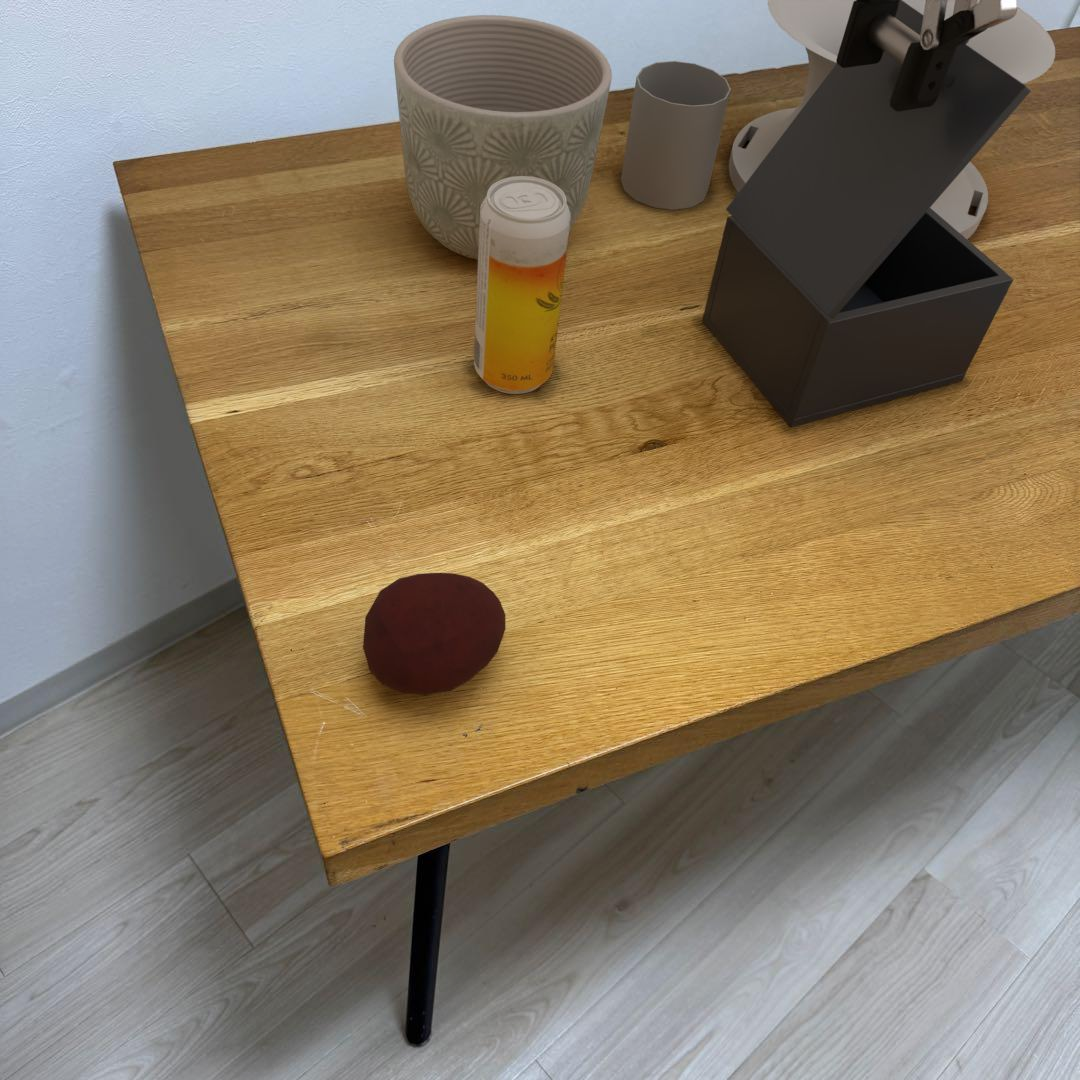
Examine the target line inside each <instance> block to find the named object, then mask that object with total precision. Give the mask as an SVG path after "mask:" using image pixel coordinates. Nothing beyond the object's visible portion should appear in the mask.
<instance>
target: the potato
mask: <svg viewBox="0 0 1080 1080" xmlns="http://www.w3.org/2000/svg"><path fill="white" fill-rule="evenodd" d="M363 629H364V630H363V641H362V649H363V653H364V656H365V660H366V663H367V667H368V669H369V672H370V674H372V676H373V677H374V678H375V679H377V681H378V682H379V684H381V685H382V686H384V687H386V688H389V689H391V690H393V691H395V692H398V693H400V694H407V695H408V694H409V695H416V696H417V695H418V696H431V695H435V694H441V693H447V692H451V691H453V690H455V689H457V688H459V687H461V686H462V685H463V684H466V683H468V682H469V681H471V680H472V679H473V678H474V677H475V676H476V675H478V674H479V673H480V672H481V671H482V670H484V669H485V668H486V667H487V666H488V665H489V664H490V662H491V661H492V660H493V659H494V657H496V655H497V654H498V651H499V650H500V646H501V644H502V640H503V637H504V635H505V631H506V613H505V610H504V607H503V605H502V602H501V600H500V598H499V597H498V596H497V595H496V593H495V592H494V591H493V590H491V589H490V588H489V587H488V586H487V585H486V584H485V583H484V582H482V581H479V579H478V580H477V579H476V578H473V577H471V576H468V575H463V574H460V573H459V574H458V573H452V572H425V573H416V574H412V575H407V576H403V577H399V578H397V579H396V580H394V581H393V582H391V583H390V584H388V585H386V586H385V587H384V588H382V589H381V590H379V592H378V594H377V595H376V598H375V599H374V601H373V603H372V604H371V606H370V608H369V610H368V612H367V613H366V615H365V618H364V628H363Z"/></svg>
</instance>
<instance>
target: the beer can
mask: <svg viewBox="0 0 1080 1080" xmlns="http://www.w3.org/2000/svg"><path fill="white" fill-rule="evenodd" d="M570 220H571V214H570V210H569V208H568V205H567V203H566V196H565V194H564V192H563V191H562V190H561V189H560V188H559V187H557V186H556V185H554V184H553V183H551V182H549V181H546V180H543V179H540V178H535V177H528V176H516V177H509V178H505V179H502V180H499V181H497V182H496V183H494V184H493V185H492V186H491V187H490V188H489V190H488V192H487V196H486V198H485V199H484V201H483V203H482V204H481V207H480V225H479V250H478V260H477V277H476V279H477V282H476V301H475V302H476V303H475V325H474V326H475V328H474V329H475V330H474V354H473V356H474V357H473V366H474V369H475V371H476V373H477V375H478V377H480V378H481V379H482V381H484V382H485V384H486V385H487V386H488V387H490V388H491V389H493V390H495V391H498V392H500V393H504V394H510V395H521V394H528V393H530V392H533V391H535V390H536V389H538V388H539V387H541V386H542V385H543V384H545V383H546V382H547V381H548V380H549V379H550V378H551V376H552V375H553V371H554V368H555V367H554V366H555V357H556V349H557V341H558V333H559V332H558V331H559V323H560V316H561V315H560V314H561V306H562V296H563V289H564V279H565V271H566V264H567V263H566V262H567V256H568V255H567V253H568V246H569V236H570V232H569V229H570Z"/></svg>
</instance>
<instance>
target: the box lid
mask: <svg viewBox="0 0 1080 1080" xmlns="http://www.w3.org/2000/svg"><path fill="white" fill-rule="evenodd" d="M922 22H923V14H921V13H920V12H918V11H917V10H915V9H914V8H912V7H911V6H910V5H908V4H907V3H905V2H904V1H902V0H900V1H899V4H898V10H897V13H896V16H895V17H893V16H892V15H890V14H889V13H883V14H880V15H879V16H877V17H876V18H875V19H874V20H873V22H872V23H871V25H870V27H869V30H868V37H869V40H870V41H872V42H873V43H874V44H876V45H877V46H878V47H880V48H881V49H882V50H884V52H883V55H882V58H881V60H880V61H879V62H878V63H876V64H870V65H862V66H855V67H847V68H842V67H841V66H839V65H838V64H837V63H836V65H835V66H834V67H833V69H832V70H831V71H830V73H829V74H828V75H827V77H826V78H825V79H824V81H823V82H822V83H821V84H820V86H819V87H818V88H817V90H816V91H815V92H814V94H813V95H812V96H811V98H810V99H809V100H808V102H807V103H806V104H805V106H804V107H803V108H802V110H801V111H800V112H799V114H798V115H797V116H796V117H795V119H794V120H793V121H792V123H791V124H790V125H789V127H788V128H787V129H786V131H785V132H784V133H783V135H782V136H781V137H780V139H779V140H778V141H777V143H776V144H775V145H774V147H773V148H772V149H771V151H770V152H769V153H768V154H767V156H766V157H765V158H764V160H763V161H762V162H761V164H760V165H759V166H758V168H757V169H756V170H755V172H754V173H753V174H752V176H751V177H750V178H749V180H748V181H747V182H746V184H745V185H744V186H743V187H742V189H741V190H740V191H739V193H738V192H737V194H736V195H735V197H734V198H733V199H732V201H730V203H729V205H728V206H727V207H726V211H727V212H728V213H729V215H730V216H733V218H734V219H735V220H736V221H737V222H738V223H739V224H740V225H741V226H742V227H743V228H744V229H745V230H746V231H747V232H748V233H749V234H750V235H751V236H752V237H753V239H754V240H755V241H756V242H757V243H758V244H759V245H760V246H761V247H762V248H763V249H764V250H765V251H766V252H767V253H768V254H769V255H770V256H771V257H772V258H773V260H774V261H775V262H776V263H777V264H778V265H779V266H780V267H781V268H782V269H783V270H784V271H785V272H786V273H787V274H788V275H789V276H790V277H791V278H792V279H793V281H794V282H795V283H796V284H797V285H798V286H799V287H800V288H801V289H802V290H803V291H804V292H805V293H806V294H807V295H808V296H809V297H810V298H811V299H812V300H813V302H814V303H815V304H816V305H817V306H818V307H819V308H820V309H821V310H822V311H823V312H824V313H825V314H826V315H827V316H828V317H830V318H835V316H836V315H837V314H838V313H839V312H840V311H841V309H842V308H843V307H844V306H845V305H846V304H847V303H848V301H849V300H850V299H851V298H852V297H853V296H854V295H855V293H856V292H857V291H858V290H859V289H860V288H861V286H862V285H863V284H864V283H865V282H866V281H867V280H868V278H869V277H870V276H871V275H872V274H873V273H874V271H875V270H876V269H877V268H878V267H879V266H880V265H881V263H882V262H883V261H884V260H885V259H886V258H887V257H888V255H889V254H890V253H891V252H892V251H893V250H894V248H895V247H896V246H897V245H898V244H899V243H900V242H901V240H902V239H903V238H904V237H905V236H906V235H907V233H908V232H909V231H910V230H911V229H912V228H913V227H914V225H915V224H916V223H917V222H918V221H919V220H920V219H921V217H922V216H923V215H924V214H925V213H926V212H927V210H928V209H929V208H930V207H931V206H932V205H933V204H934V202H935V201H936V200H937V199H938V198H939V197H940V195H941V194H942V193H943V192H944V191H945V190H946V189H947V187H948V186H949V185H950V184H951V183H952V182H953V181H954V179H955V178H956V177H957V176H958V175H959V174H960V172H961V171H962V170H963V169H964V168H965V167H966V166H967V164H968V163H969V162H971V161H972V160H973V159H974V157H976V156H977V154H978V153H979V152H980V151H981V149H982V148H983V147H984V146H985V145H986V144H987V143H988V142H989V141H990V139H991V138H992V137H993V136H994V135H995V133H996V132H997V131H998V130H999V129H1000V128H1001V127H1002V126H1003V124H1004V123H1005V122H1006V121H1007V119H1009V118H1010V116H1011V115H1012V114H1013V113H1014V112H1015V111H1016V110H1017V109H1018V107H1019V106H1020V105H1021V104H1022V102H1023V101H1024V100H1025V99H1026V98H1027V97H1028V96H1029V94H1030V93H1031V91H1032V90H1031V89H1030V88H1029V87H1028V86H1027V85H1026V84H1025V83H1021V82H1020V81H1018V80H1017V79H1015V78H1014V77H1013V76H1011V75H1010V74H1008V73H1007V72H1005V71H1004V70H1002V69H1001V68H1000V67H998V66H997V65H995V64H994V63H992V62H991V61H989V60H988V59H986V58H985V57H984V56H982V55H981V54H979V53H978V52H976V51H975V50H973V49H972V48H970V47H969V46H968V45H966V44H965V45H962V46H957V47H956V50H955V53H954V55H953V58H952V60H951V63H950V66H949V68H948V71H947V74H946V76H945V79H944V81H943V84H942V87H941V89H940V92H939V95H938V97H937V100H936V102H935V103H934V104H933V105H932V106H930V107H924V108H918V109H911V110H905V111H898V112H897V111H895V110H894V109H893V108H891V107H890V99H891V96H892V93H893V90H894V87H895V85H896V82H897V79H898V76H899V73H900V70H901V67H902V64H903V61H904V59H905V56H906V53H907V50H908V47H909V46H910V44H911V43H915V42H920V35H921V28H922Z"/></svg>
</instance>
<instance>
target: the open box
mask: <svg viewBox="0 0 1080 1080" xmlns="http://www.w3.org/2000/svg"><path fill="white" fill-rule="evenodd" d="M1013 281H1014V278H1013V277H1011V276H1010V274H1008V273H1007V272H1006V271H1005V270H1004V269H1002V268H1001V267H1000V266H999V265H998V264H996V262H994V261H993V260H992V259H991V258H990V257H989V256H987V255H986V254H985V253H984V252H982V250H980V249H979V248H978V247H977V246H975V245H974V243H972V242H971V241H970V240H969V239H966V238H965V237H964V236H963V235H961V234H960V233H959V232H958V231H957V230H956V229H954V228H953V227H952V226H951V225H950V224H949V223H947V222H946V221H945V220H944V219H943V218H942V217H940V216H939V215H938V214H937V213H936V212H935V211H933V210H932V209H931V208H929V209H928V210H927V212H926V213H925V214H924V215H923V216H922V217H921V219H920V220H919V221H918V222H917V223H916V224H915V225H914V227H913V228H912V229H911V230H910V231H909V232H908V233H907V235H906V236H905V237H904V238H903V239H902V240H901V242H900V243H899V244H898V245H897V246H896V247H895V248H894V250H893V251H892V252H891V253H890V254H889V255H888V257H887V258H886V259H885V260H884V261H883V262H882V263H881V265H880V266H879V267H878V268H877V269H876V270H875V271H874V273H873V274H872V275H871V276H870V277H869V278H868V280H867V281H866V282H865V283H864V284H863V285H862V286H861V288H860V289H859V290H858V291H857V292H856V293H855V295H854V296H853V297H852V298H851V299H850V300H849V301H848V303H847V304H846V305H845V306H844V307H843V308H842V309H841V311H840V312H839V313H838V314H837V315H836V316H835V318H830V317H828V316H827V315H826V314H825V313H824V312H823V311H822V310H821V309H820V308H819V307H818V306H817V305H816V304H815V303H814V302H813V300H812V299H811V298H810V297H809V296H808V295H807V294H806V293H805V292H804V291H803V290H802V289H801V288H800V287H799V286H798V285H797V284H796V283H795V282H794V281H793V279H792V278H791V277H790V276H789V275H788V274H787V273H786V272H785V271H784V270H783V269H782V268H781V267H780V266H779V265H778V264H777V263H776V262H775V261H774V260H773V258H772V257H771V256H770V255H769V254H768V253H767V252H766V251H765V250H764V249H763V248H762V247H761V246H760V245H759V244H758V243H757V242H756V241H755V240H754V239H753V237H752V236H751V235H750V234H749V233H748V232H747V231H746V230H745V229H744V228H743V227H742V226H741V225H740V224H739V223H738V222H737V221H736V220H735V219H734V218H733V216H732V215H729V216H728V215H727V217H726V221H725V225H724V229H723V234H722V237H721V242H720V245H719V250H718V253H717V258H716V262H715V266H714V270H713V273H712V278H711V282H710V286H709V291H708V294H707V299H706V302H705V306H704V312H703V315H702V319H701V322H702V323H703V324H704V325H705V326H706V328H707V329H708V331H710V332H711V334H712V335H713V336H714V337H715V338H716V340H717V341H718V342H719V343H720V344H721V346H722V347H723V348H724V349H725V350H726V352H727V353H728V355H730V357H731V358H732V359H733V361H735V363H736V364H737V365H738V366H739V368H741V370H742V371H743V372H744V373H745V374H746V376H747V377H748V378H749V379H750V381H751V382H752V383H753V384H754V386H756V388H757V389H758V390H759V392H761V394H762V395H763V397H764V398H765V399H766V400H767V401H768V403H770V405H771V406H772V407H773V409H774V410H776V412H777V413H778V414H779V415H780V417H781V418H782V420H784V422H785V423H786V424H787V425H788V426H789V428H795V427H799V426H802V425H806V424H810V423H812V422H813V423H814V422H816V421H821V420H824V419H829V418H831V417H835V416H840V415H842V414H845V413H849V412H853V411H857V410H860V409H865V408H867V407H872V406H876V405H879V404H883V403H887V402H890V401H893V400H897V399H902V398H905V397H907V396H912V395H916V394H920V393H923V392H926V391H931V390H934V389H938V388H941V387H945V386H949V385H953V384H956V383H959V382H960V383H961V382H963V380H964V378H965V377H966V373H967V372H968V370H969V367H970V366H971V364H972V362H973V360H974V358H975V356H976V354H977V353H978V350H979V348H980V346H981V344H982V342H983V340H984V338H985V337H986V335H987V332H988V331H989V328H990V327H991V325H992V323H993V321H994V319H995V316H996V315H997V313H998V312H999V309H1000V307H1001V305H1002V303H1003V301H1004V299H1005V297H1006V295H1007V293H1008V291H1009V289H1010V287H1011V285H1012V283H1013Z"/></svg>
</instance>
